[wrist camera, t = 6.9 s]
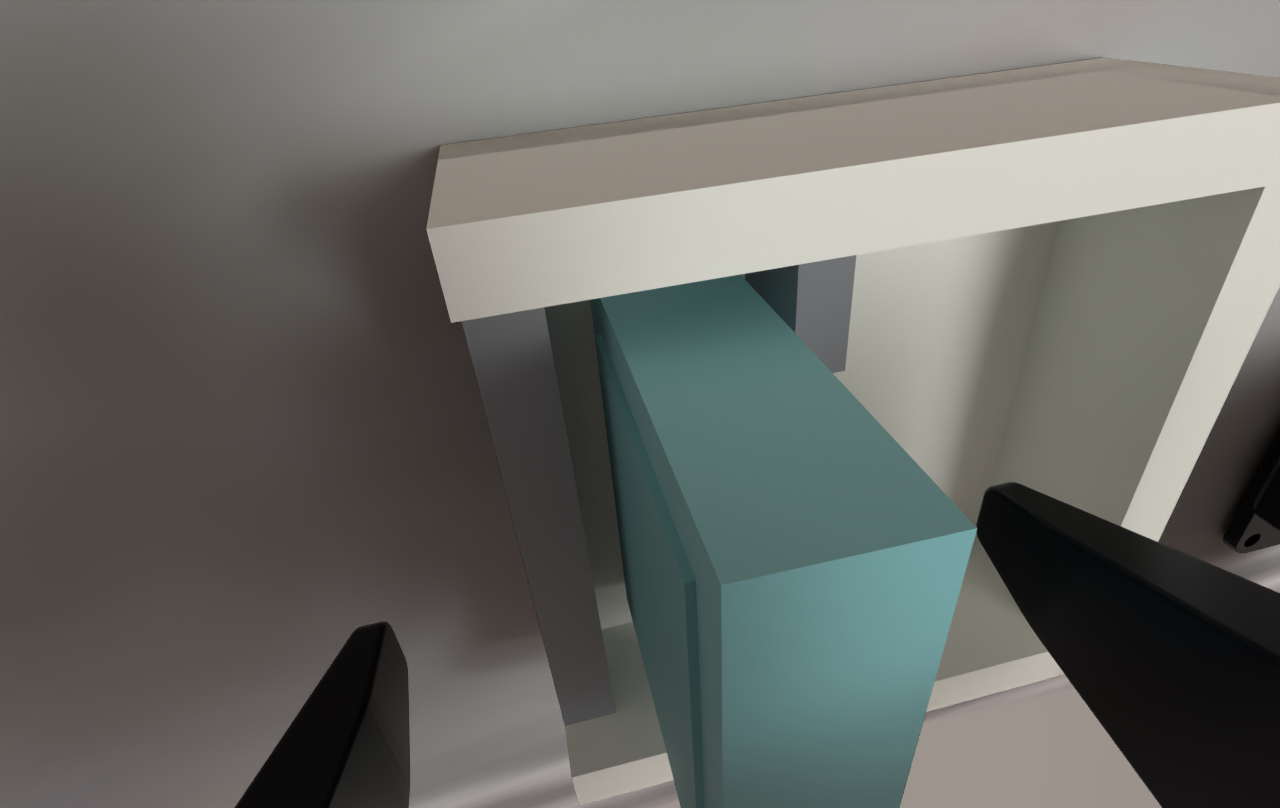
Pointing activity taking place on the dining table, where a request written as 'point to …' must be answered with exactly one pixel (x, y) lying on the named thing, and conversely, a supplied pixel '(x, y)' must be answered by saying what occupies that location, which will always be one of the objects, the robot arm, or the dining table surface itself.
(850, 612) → the door
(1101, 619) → the robot arm
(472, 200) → the carcass
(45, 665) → the dining table surface
